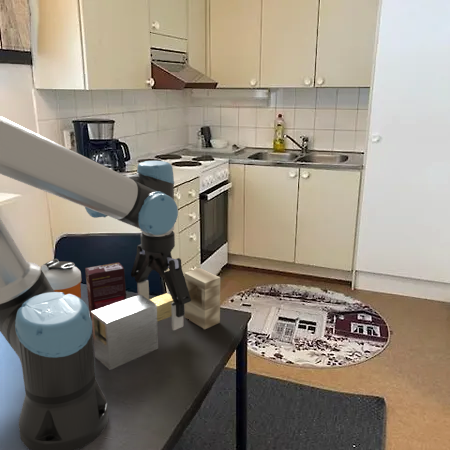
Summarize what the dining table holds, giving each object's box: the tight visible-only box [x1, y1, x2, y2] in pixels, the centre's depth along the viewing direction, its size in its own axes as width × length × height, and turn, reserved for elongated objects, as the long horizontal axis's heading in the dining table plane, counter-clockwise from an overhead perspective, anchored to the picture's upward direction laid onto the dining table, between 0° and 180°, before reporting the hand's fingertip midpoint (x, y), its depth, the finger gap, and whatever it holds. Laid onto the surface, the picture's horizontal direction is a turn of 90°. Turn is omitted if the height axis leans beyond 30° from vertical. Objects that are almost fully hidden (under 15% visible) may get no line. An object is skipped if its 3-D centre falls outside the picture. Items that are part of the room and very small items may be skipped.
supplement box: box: [84, 261, 127, 330], centre depth 114 cm, size 9×5×16 cm, turn 117°
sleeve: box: [91, 294, 159, 371], centre depth 104 cm, size 12×7×11 cm, turn 133°
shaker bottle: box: [40, 258, 82, 299], centre depth 106 cm, size 9×9×20 cm
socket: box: [183, 267, 221, 330], centre depth 118 cm, size 5×8×13 cm, turn 43°
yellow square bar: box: [99, 291, 174, 338], centre depth 106 cm, size 20×4×4 cm, turn 133°
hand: (160, 316), depth 110 cm, fingers open, 13 cm apart
